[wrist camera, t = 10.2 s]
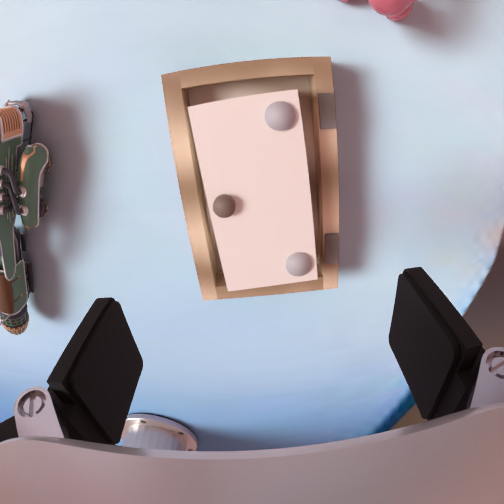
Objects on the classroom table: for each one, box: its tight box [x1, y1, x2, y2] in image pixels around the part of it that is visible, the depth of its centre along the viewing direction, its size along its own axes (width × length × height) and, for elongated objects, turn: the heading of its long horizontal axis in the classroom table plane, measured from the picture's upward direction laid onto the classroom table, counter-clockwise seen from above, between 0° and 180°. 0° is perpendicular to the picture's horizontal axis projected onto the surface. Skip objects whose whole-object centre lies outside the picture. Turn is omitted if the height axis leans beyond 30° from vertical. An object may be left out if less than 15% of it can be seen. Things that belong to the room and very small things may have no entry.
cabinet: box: [161, 57, 339, 300], centre depth 23 cm, size 17×11×3 cm, turn 6°
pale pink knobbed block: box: [188, 89, 318, 291], centre depth 22 cm, size 13×6×4 cm, turn 9°
